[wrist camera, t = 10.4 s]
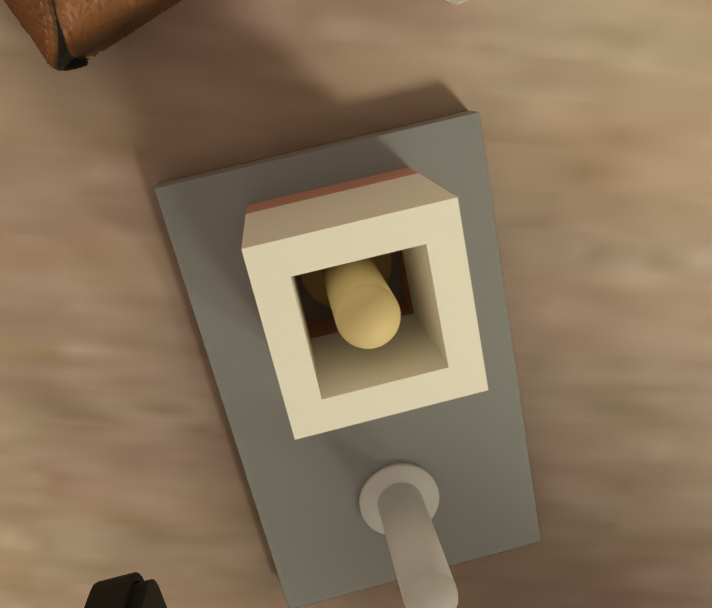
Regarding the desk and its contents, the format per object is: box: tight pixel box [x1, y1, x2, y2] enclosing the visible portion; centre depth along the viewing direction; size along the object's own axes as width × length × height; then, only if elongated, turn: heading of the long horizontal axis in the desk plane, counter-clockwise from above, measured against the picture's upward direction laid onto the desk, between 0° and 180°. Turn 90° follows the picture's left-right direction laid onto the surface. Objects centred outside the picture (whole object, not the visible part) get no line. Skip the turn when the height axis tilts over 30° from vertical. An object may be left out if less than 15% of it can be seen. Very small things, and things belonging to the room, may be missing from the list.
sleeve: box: [241, 167, 488, 440], centre depth 21 cm, size 6×6×6 cm
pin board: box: [154, 111, 541, 608], centre depth 23 cm, size 18×11×8 cm, turn 12°
